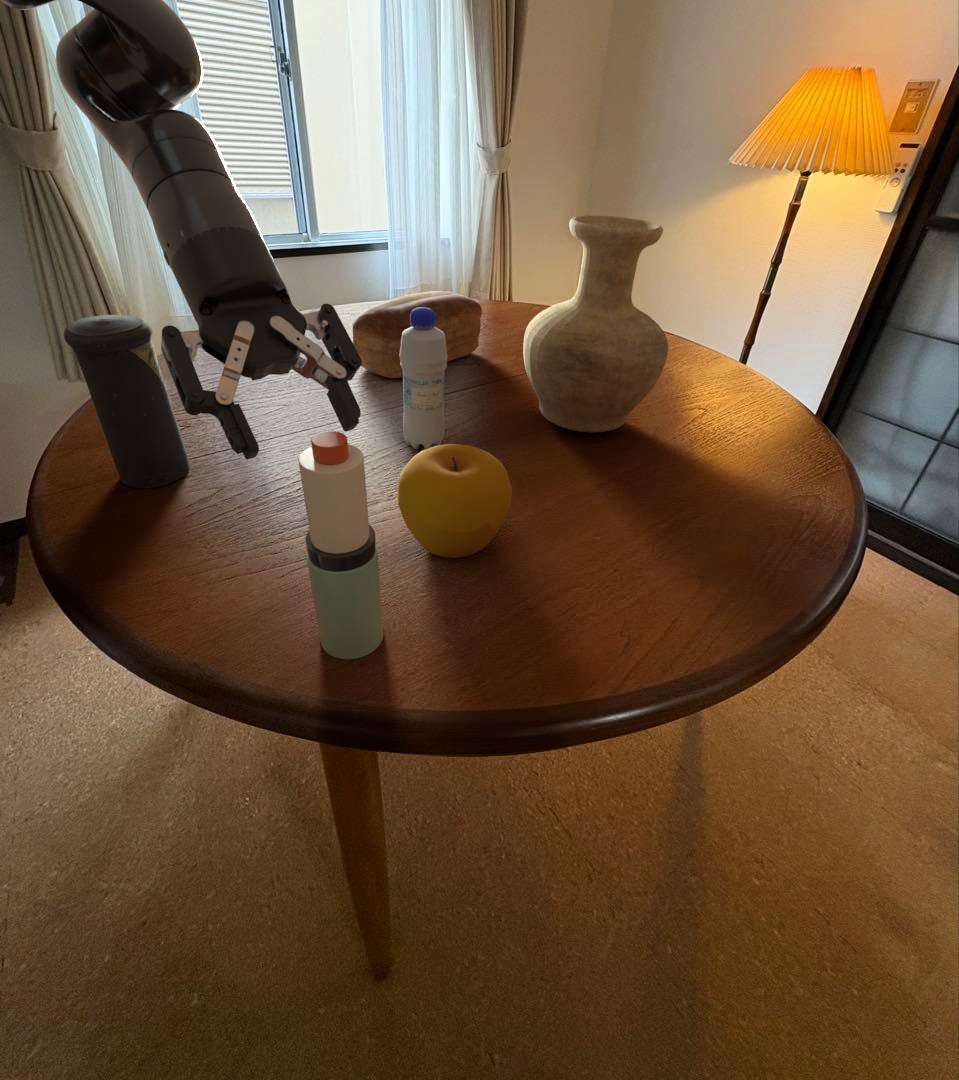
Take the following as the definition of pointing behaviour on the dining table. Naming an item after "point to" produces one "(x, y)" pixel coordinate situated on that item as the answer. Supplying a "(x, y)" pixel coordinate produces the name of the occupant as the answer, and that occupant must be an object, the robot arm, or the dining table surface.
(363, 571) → the celadon jar
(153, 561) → the dining table surface
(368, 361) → the bread
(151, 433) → the container
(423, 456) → the apple
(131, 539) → the dining table surface
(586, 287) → the vase
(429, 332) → the bottle
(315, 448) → the cream bottle
